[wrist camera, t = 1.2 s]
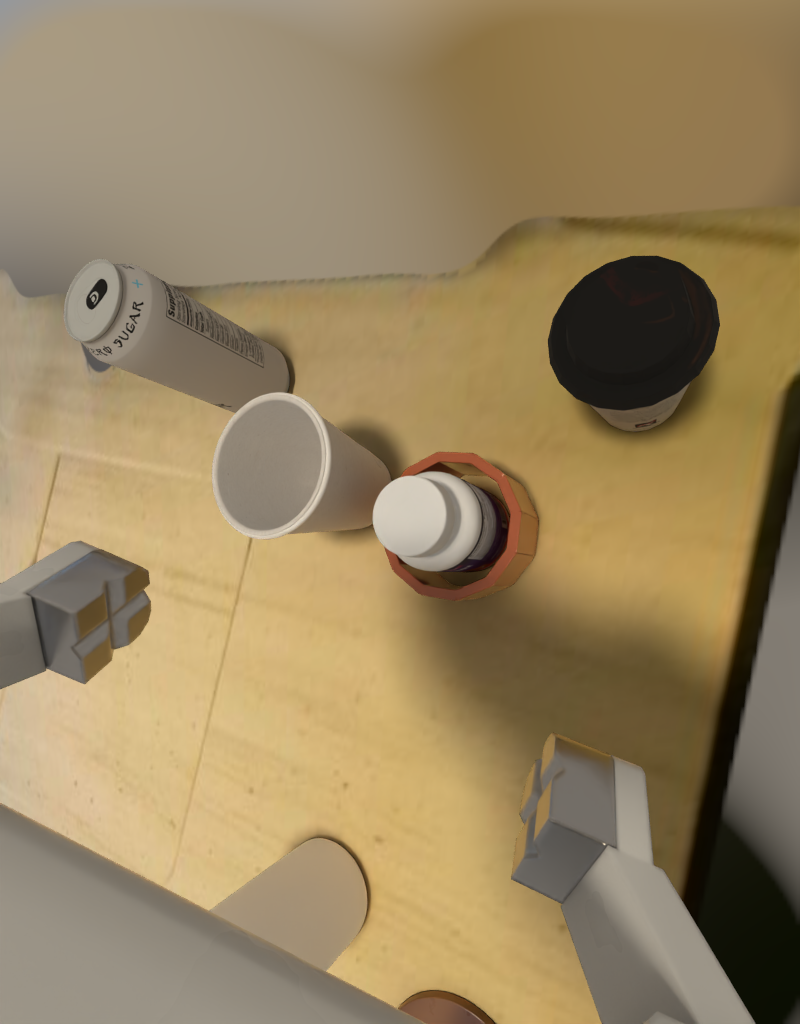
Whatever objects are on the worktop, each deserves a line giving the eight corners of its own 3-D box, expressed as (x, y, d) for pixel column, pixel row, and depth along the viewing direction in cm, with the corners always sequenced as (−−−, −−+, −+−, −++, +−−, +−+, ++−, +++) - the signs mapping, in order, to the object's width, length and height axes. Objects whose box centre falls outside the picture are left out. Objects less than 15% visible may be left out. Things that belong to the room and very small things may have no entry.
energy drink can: (226, 387, 46) (45, 307, 32) (271, 334, 44) (101, 228, 31) (258, 436, 44) (79, 373, 30) (307, 382, 42) (141, 291, 29)
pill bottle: (423, 558, 36) (347, 552, 27) (445, 481, 36) (376, 450, 27) (499, 583, 34) (442, 585, 25) (523, 500, 34) (474, 473, 25)
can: (346, 964, 35) (206, 1131, 25) (277, 892, 38) (125, 1014, 27) (386, 880, 35) (261, 1014, 24) (313, 814, 38) (172, 908, 27)
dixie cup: (360, 410, 40) (271, 361, 31) (432, 487, 36) (356, 458, 27) (290, 493, 42) (188, 469, 33) (353, 572, 38) (258, 570, 29)
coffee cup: (676, 467, 30) (681, 420, 21) (557, 432, 33) (517, 377, 24) (727, 348, 30) (753, 249, 21) (601, 324, 33) (576, 228, 24)
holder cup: (544, 470, 33) (528, 455, 29) (529, 606, 33) (510, 610, 29) (420, 463, 37) (391, 449, 33) (405, 585, 36) (373, 586, 32)
